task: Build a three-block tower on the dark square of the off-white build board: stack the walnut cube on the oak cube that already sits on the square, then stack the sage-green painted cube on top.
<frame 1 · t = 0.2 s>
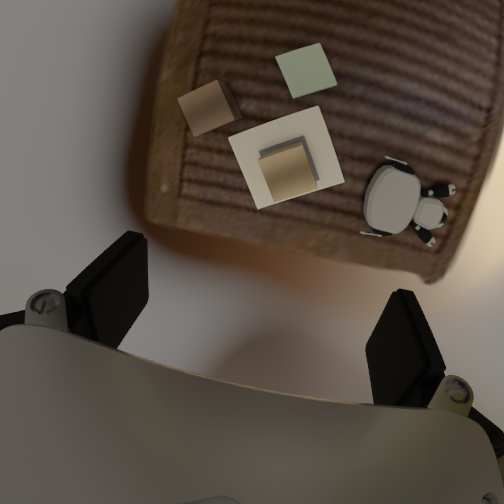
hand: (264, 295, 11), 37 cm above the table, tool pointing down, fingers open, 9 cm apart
robot toy: (404, 199, 44), on the table
sage block: (305, 74, 37), on the table
oak block: (289, 165, 43), point 1 cm above the table, touching build board
build board: (287, 157, 44), on the table
walnut block: (216, 107, 42), on the table
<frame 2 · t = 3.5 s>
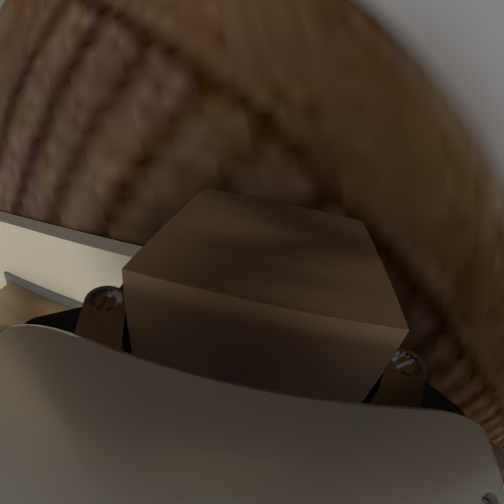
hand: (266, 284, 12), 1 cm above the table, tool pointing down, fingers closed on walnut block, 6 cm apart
oak block: (52, 333, 15), point 1 cm above the table, touching build board
build board: (73, 326, 16), on the table
walnut block: (268, 272, 12), on the table, touching gripper
when the fingers open (9 cm above the table, at t = 8.3 s): walnut block stays where it is, resting on oak block.
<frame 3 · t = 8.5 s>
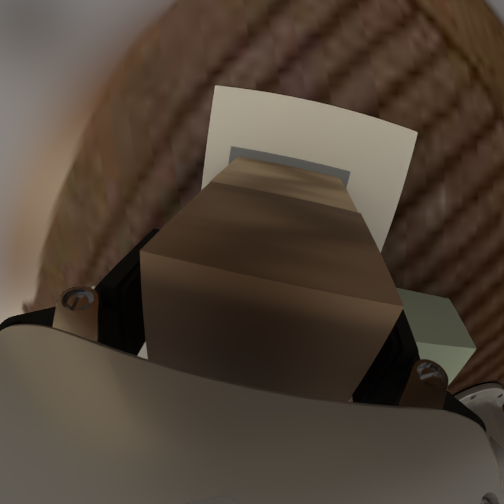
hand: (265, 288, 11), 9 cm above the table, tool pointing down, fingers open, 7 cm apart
sage block: (404, 321, 22), on the table
oak block: (279, 214, 18), point 1 cm above the table, touching build board, walnut block
build board: (296, 210, 19), on the table
walnut block: (272, 262, 13), point 7 cm above the table, touching oak block
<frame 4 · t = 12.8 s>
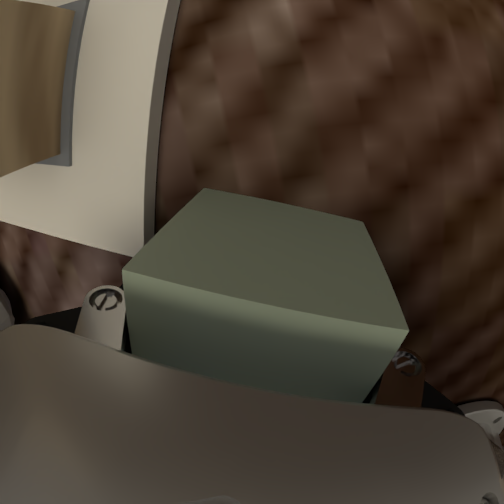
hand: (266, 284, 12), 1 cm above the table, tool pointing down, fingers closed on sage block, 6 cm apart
sage block: (269, 272, 12), on the table, touching gripper
oak block: (19, 87, 9), point 1 cm above the table, touching build board, walnut block
build board: (50, 83, 10), on the table
when the fingers open (15 cm above the table, at t = 18.2 s): sage block stays where it is, resting on walnut block.
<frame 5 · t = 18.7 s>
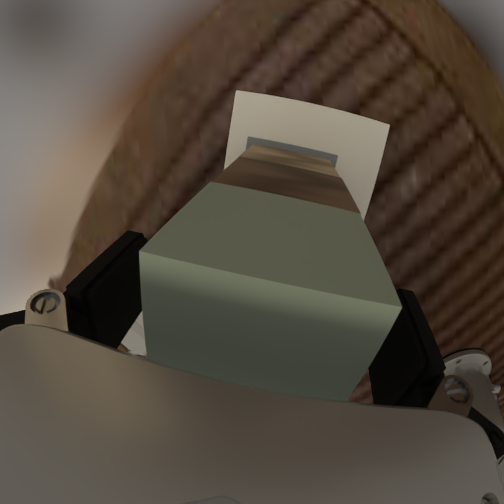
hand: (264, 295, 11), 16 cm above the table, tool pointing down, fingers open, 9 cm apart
robot toy: (161, 305, 33), on the table
sage block: (271, 262, 13), point 13 cm above the table, touching walnut block
oak block: (284, 188, 24), point 1 cm above the table, touching build board, walnut block
build board: (297, 186, 25), on the table
walnut block: (281, 213, 18), point 7 cm above the table, touching oak block, sage block
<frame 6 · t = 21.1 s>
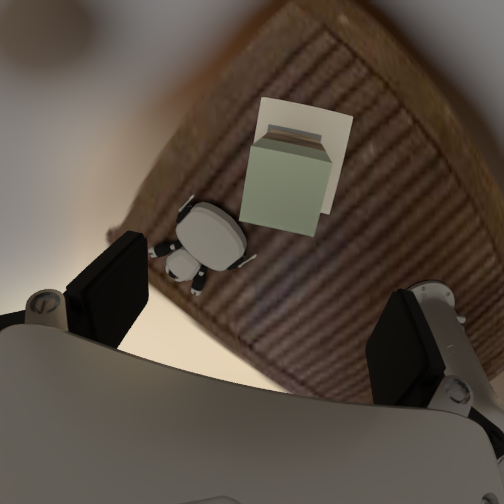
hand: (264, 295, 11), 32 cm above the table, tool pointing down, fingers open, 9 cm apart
robot toy: (202, 242, 48), on the table
sage block: (287, 174, 28), point 13 cm above the table, touching walnut block
build board: (297, 155, 39), on the table
walnut block: (289, 163, 33), point 7 cm above the table, touching oak block, sage block
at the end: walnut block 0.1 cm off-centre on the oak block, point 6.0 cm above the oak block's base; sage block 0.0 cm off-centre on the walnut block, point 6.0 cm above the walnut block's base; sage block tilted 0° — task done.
